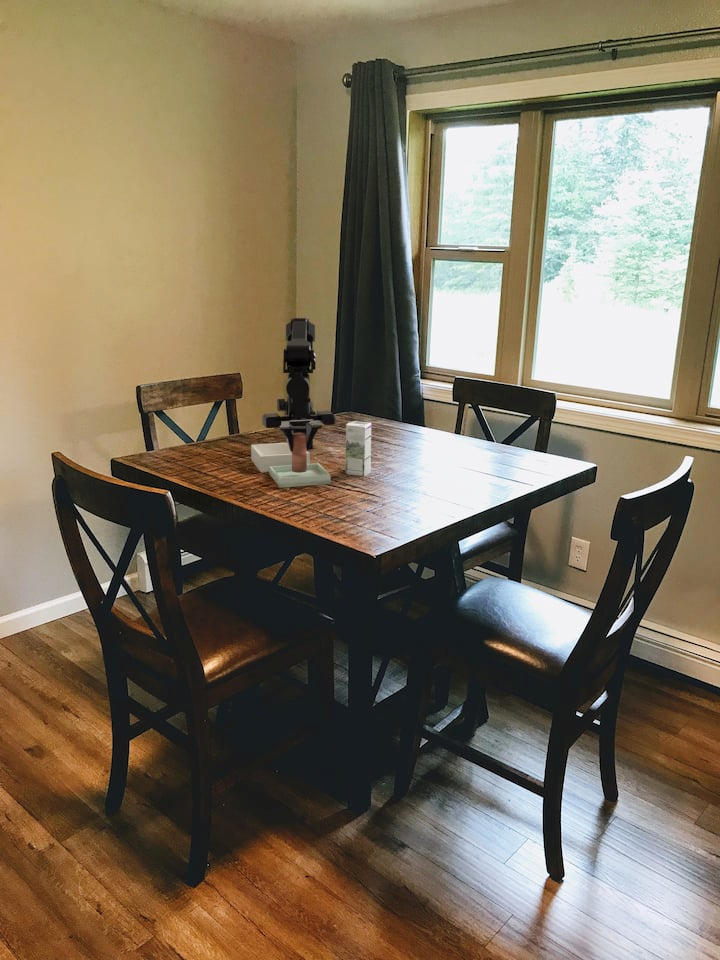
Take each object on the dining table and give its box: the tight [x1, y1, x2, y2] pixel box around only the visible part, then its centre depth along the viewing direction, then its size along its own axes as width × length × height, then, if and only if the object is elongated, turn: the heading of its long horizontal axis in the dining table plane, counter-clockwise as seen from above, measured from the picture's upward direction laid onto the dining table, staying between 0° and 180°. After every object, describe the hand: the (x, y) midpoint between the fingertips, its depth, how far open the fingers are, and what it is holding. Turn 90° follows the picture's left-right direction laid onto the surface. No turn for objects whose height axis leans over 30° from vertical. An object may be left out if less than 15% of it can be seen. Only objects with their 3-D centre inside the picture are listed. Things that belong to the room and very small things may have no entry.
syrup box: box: [345, 420, 372, 477], centre depth 210 cm, size 6×6×14 cm
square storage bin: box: [250, 442, 311, 473], centre depth 218 cm, size 14×14×5 cm
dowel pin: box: [292, 433, 307, 473], centre depth 204 cm, size 4×4×10 cm
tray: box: [268, 462, 332, 489], centre depth 205 cm, size 14×12×2 cm
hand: (299, 450), depth 203 cm, fingers closed on dowel pin, 4 cm apart
